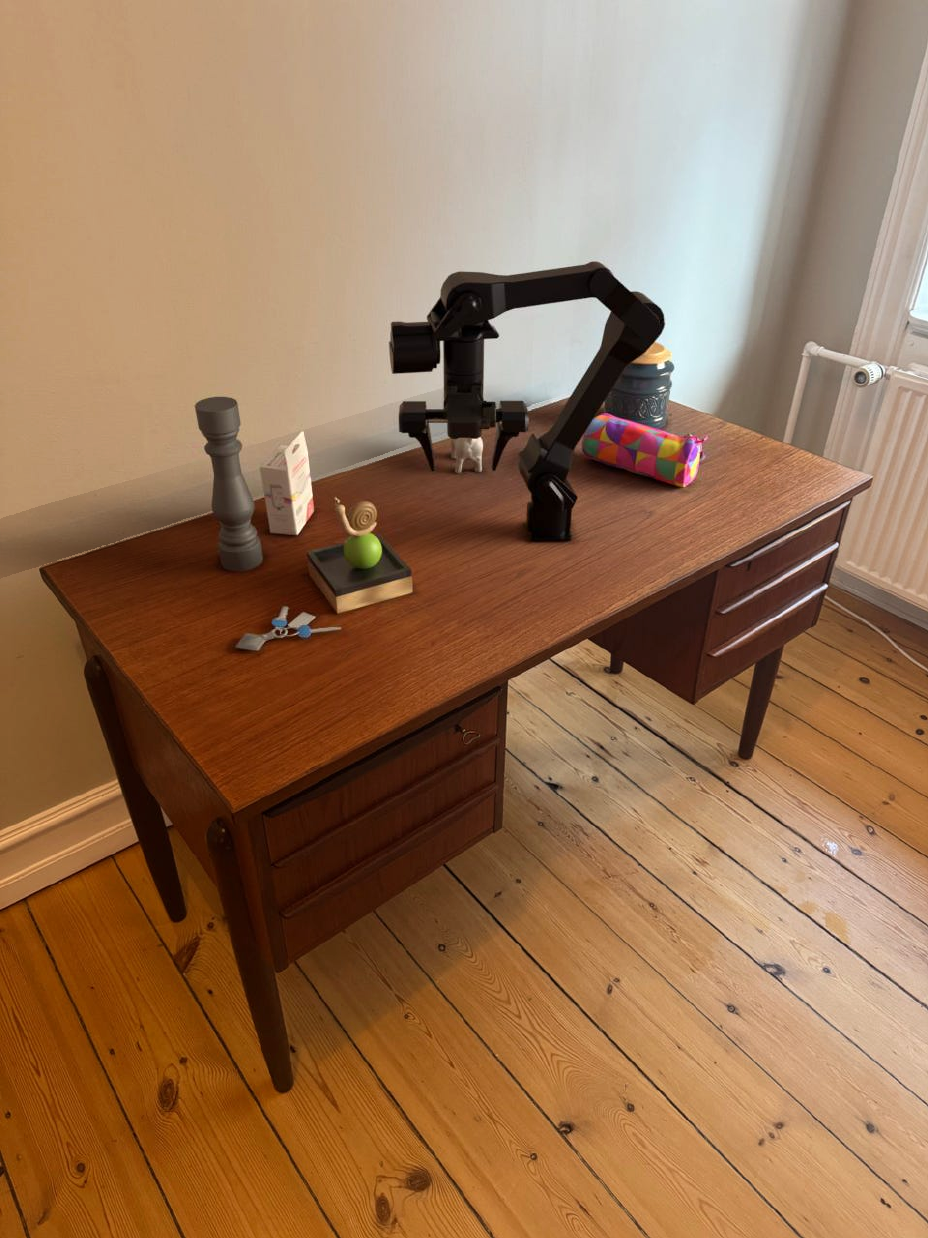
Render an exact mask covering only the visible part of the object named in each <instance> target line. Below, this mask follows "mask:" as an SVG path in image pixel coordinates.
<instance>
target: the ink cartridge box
mask: <svg viewBox="0 0 928 1238" xmlns="http://www.w3.org/2000/svg"><path fill="white" fill-rule="evenodd" d="M297 445H298V446H297ZM309 461H310V460H309V451H308V446H307V442H306V437H305V433H304V430H301V431H300V432H299V433H298V435H296V436H295V438H294V439H292V441H291V442H290V443H289V444H288V445H278V447H276V449H275V450H274V451H273V452H272V453H271V454H270V455H268V457H267V459H265V460H264V461H263V462H262V463H261V465H260V466H259V467H258V469H259V471H260V473H259V474H260V478H261V483H262V490H263V496H264V497H263V498H264V503H265V508H266V515H267V521H268V527H269V533H270V534H280V535H291V536H298V535H299V533H300V532H301V531H302V530H303V528H304V526H305V525H306V524H307V522H308V521H309V519H310V518H311V516H312V515H313V514H314V512H315V505H314V496H313V488H312V487H313V485H312V479H311V471H310V470H311V469H310V462H309Z"/></svg>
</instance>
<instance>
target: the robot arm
mask: <svg viewBox="0 0 928 1238" xmlns="http://www.w3.org/2000/svg"><path fill="white" fill-rule="evenodd" d="M439 296H440V297H439V298H438V299H437V301H436V303H435V304H434V305H433V307H432V308H431V310H430V311H429V312H428V314H427V316H426V320H427V321H413V322H410V321H409V322H405V321H392V322H390V336H389V337H390V339H389V340H390V341H388V351H389V362H390V370H391V374H392V375H398V374H416V373H417V374H418V373H432V372H434V371H433V370H434V369H438V368H437V367H438V365H440V364H441V342H442V349H443V350H442V353H443V354H442V357H443V358H442V359H443V361H442V362H443V363H442V364H443V367H442V368H443V402H442V403H443V408H427V400H407V401H406V400H403V401H402V402H401V403H400V405H399V407H398V432H399V433H402V434H408V437H409V438H411V439H413V438H414V439H416V440H417V442H418V443H419V444H420V447H421V448H422V450H423V453H424V455H425V458H426V460H427V463H428V466H429V468H430V471H431V472H435V455H434V448H433V440H432V434H431V433H432V432H431V427H430V426H431V425H430V424H446V428H447V429H446V431H447V432H446V433H447V437H448V438H450V440H451V439H458V438H471V439H477V438H480V437H481V438H482V435H483V430H490V428H495V433H494V440H493V441H494V442H493V448H492V449H493V450H492V457H491V470H492V472H496V470H497V468H498V464H499V463H500V459H501V457H502V455H503V452H504V450H505V448H506V446H507V445H508V443H509V441H510V440H511V439H512V438H517V437H519V436H520V433H527V432H529V428H530V427H529V426H530V425H529V424H530V415H529V410H528V405H527V403H526V402H525V401H524V400H499V408H497V403H496V401H487V400H485V399H484V383H485V381H484V379H485V378H484V377H485V340H493V339H494V340H495V339H499V337H500V333H499V332H498V330H497V329H496V328H495V326H494V325H493V324H492V323H490V321H491V320H493V319H495V318H497V317H499V316H500V315H502V314H504V313H506V312H509V311H512V310H514V309H522V308H528V307H535V306H542V305H543V306H544V305H550V304H556V303H562V302H563V303H564V302H571V301H577V300H584V299H592V298H593V299H594V298H595V299H597V300H598V301H599V302H600V303H601V304H602V305H603V306H604V307H605V308H607V309H608V311H610V313H609V315H608V317H607V319H606V322H605V324H604V329H603V334H602V339H601V344H600V347H599V349H598V350H597V352H596V354H595V355H594V357H593V359H592V360H591V362H590V364H589V365H588V367H587V368H586V370H585V372H584V374H583V375H582V377H581V378H580V380H579V382H578V383H577V385H576V386H575V388H574V390H573V392H572V393H571V395H570V396H569V398H568V400H567V402H565V404H564V405H563V408H562V410H561V411H560V413H559V414H558V416H557V418H556V419H555V421H554V422H553V424H552V426H551V427H550V429H549V430H548V431H546V432H545V433H544V434H542V435H541V436H537V435H536V434H535V433H531V435H530V436H529V437H528V439H527V440H528V441H527V443H526V444H525V446H524V448H523V449H522V450H521V451H519V453H518V456H519V461H518V470H519V474H520V476H521V478H522V480H523V482H524V484H525V486H526V488H527V490H528V492H529V493H530V501H528V502H527V503H526V519H525V525H526V526H525V527H526V532H527V533H529V537H530V540H531V542H568V541H569V542H570V541H572V540H573V535H572V532H571V528H572V514H573V509H574V507H575V505H576V503H577V501H578V495H577V493H576V492H575V490H574V488H573V486H572V485H571V483H570V482H569V480H568V477H569V473H570V471H571V467H572V463H573V458H574V454H575V450H576V447H577V445H578V444H579V442H580V441H581V439H583V436H584V433H585V431H586V430H587V428H588V427H589V425H590V423H591V422H592V420H593V419H594V418H595V417H596V415H597V414H598V412H599V411H600V409H601V407H602V406H603V405H604V404H605V400H606V398H607V397H608V395H609V393H610V392H611V390H612V389H613V387H614V386H615V384H616V382H617V381H618V379H619V378H620V376H621V375H622V373H623V371H624V370H625V368H626V367H627V366H628V365H629V364H630V363H631V362H633V361H634V360H636V359H637V358H639V357H640V356H641V355H643V354H644V353H645V352H646V351H647V350H648V349H649V348H650V347H651V346H652V344H653V343H654V342H656V341H657V340H658V339H659V338H660V337H661V336H662V334H663V332H664V329H665V326H666V319H665V314H664V312H663V309H662V308H661V307H660V305H658V304H657V303H655V302H654V301H653V300H651V299H650V298H649V297H648V296H647V295H646V294H644V293H642V292H641V291H630V290H629V289H628V288H627V287H626V286H625V285H624V284H623V283H622V282H621V281H620V280H619V279H617V277H615V276H614V273H613V272H612V270H611V269H609V267H607V266H606V265H605V264H603V263H601V262H600V261H590V262H587V263H585V264H578V265H572V266H563V267H556V268H550V269H543V270H537V271H536V270H535V271H530V272H522V273H515V274H514V273H513V274H509V275H508V274H507V275H505V274H495V273H489V272H484V271H483V272H482V271H462V270H461V271H456V272H453V273H451V274H449V275H448V276H447V277H446V279H445V280H444V281H443V283H442V286H441V288H440V294H439Z"/></svg>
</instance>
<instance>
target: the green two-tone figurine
mask: <svg viewBox="0 0 928 1238" xmlns="http://www.w3.org/2000/svg"><path fill="white" fill-rule="evenodd" d="M333 501H334V504H335V508H334V511H335V513H336V516H337V520H338V523H339V525H340V527H341V529H342V530H343V532H344V533H345V534H346V535H348V537H347V539H346V540H345V544H344V556H345V558H346V560H347V561H348V563H349V564H350V565H352V566H353V567H355V568H358V569H368V568H370V567H372V566H374V565H375V564H376V563H377V562H378V561H379V559H380V557H381V553H382V548H381V544H380V541H379V540H378V538H377V537H376V536H375V535H376V534H373V533H372V532H373V531H374V529H375V527H376V526H377V524H378V523H377V522H376V519H377V518H378V517H377V516H378V512H377V508H376V506H375V505H374V504H373V503H372V502H371V501H368V500H360V501H357V502H356V503H354V504H353V505H351V506H350V508H349V510H348V512H347V514H346V507H345V505H343V504H340V502H341V501H340V499H338V498H337V497H336V496H335V497H333Z"/></svg>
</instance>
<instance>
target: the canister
mask: <svg viewBox="0 0 928 1238" xmlns="http://www.w3.org/2000/svg"><path fill="white" fill-rule="evenodd" d="M672 355H673V354H672V352H671V351H670V350H669V349H667V348H666V347H665V346H664V345H663V344H661V343H659V342H656V341H655V342H654V343H653V344H652V346H651V347H650V348H649V349H648V350H647V351H646V352H645V353H644V354H643V355H641V356H640V357H639V358H637V359H636V360H634V361H633V362H631V363H630V364H629V365H628V366H627V367H626V368H625V370H624V371H623V373H622V375H621V376H620V378H619V379H618V381H617V382H616V384H615V386H614V387H613V389H612V390H611V392H610V393H609V395H608V397H607V398H606V400H605V401H604V403H603V408H602V414H603V413H607V414H610V415H612V416H614V417H617V418H620V419H625V420H628V421H632V422H635V423H638V424H641V425H645V426H648V427H652V428H655V429H659V430H661V429H662V428H663V427H665V426H666V422H667V420H668V415H669V411H668V408H669V403H670V394H671V388H672V387H673V382H672V379H671V374H672V373H673V372H674V370H675V364H674V363H673V362H672V361H671V359H672Z"/></svg>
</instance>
